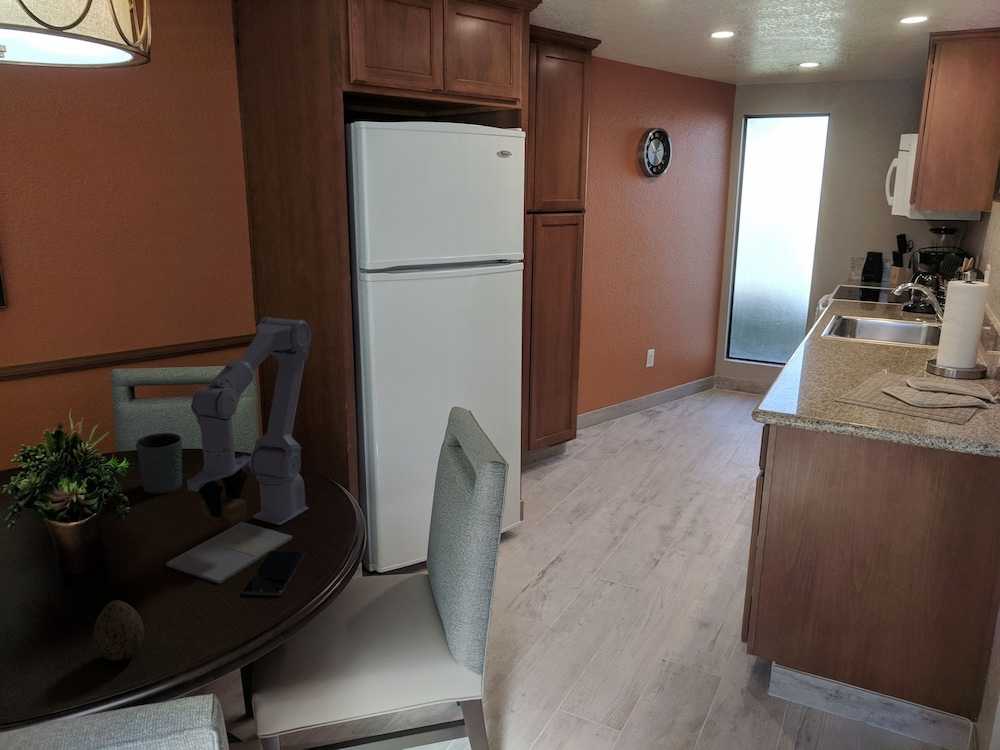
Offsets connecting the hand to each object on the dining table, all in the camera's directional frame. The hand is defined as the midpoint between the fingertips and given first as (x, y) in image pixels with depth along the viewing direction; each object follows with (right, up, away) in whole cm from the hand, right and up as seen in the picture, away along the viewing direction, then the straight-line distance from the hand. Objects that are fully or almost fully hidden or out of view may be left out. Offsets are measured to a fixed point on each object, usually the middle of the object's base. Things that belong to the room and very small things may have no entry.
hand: (224, 511), depth 150 cm
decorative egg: (-5, -18, -31) cm, 36 cm away
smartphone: (+12, -11, -5) cm, 17 cm away
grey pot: (-26, 0, +32) cm, 42 cm away
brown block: (0, -1, 0) cm, 1 cm away
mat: (+1, -9, +2) cm, 9 cm away
